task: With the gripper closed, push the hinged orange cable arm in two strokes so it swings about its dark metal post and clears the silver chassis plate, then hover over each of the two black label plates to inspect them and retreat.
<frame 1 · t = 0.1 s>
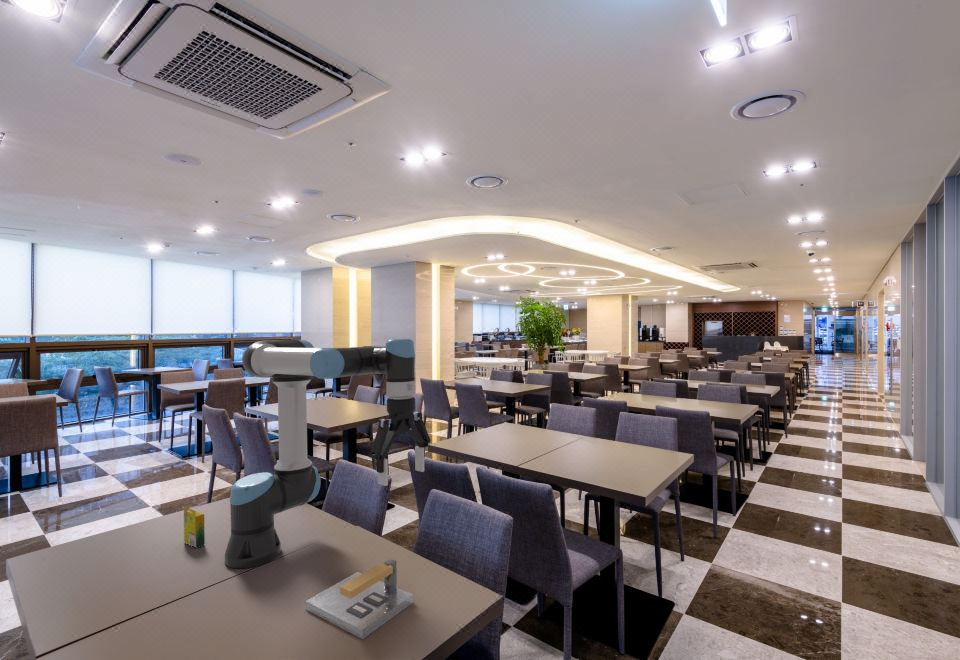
hand: (402, 477, 121), 28 cm above the table, fingers open, 13 cm apart
chassis plate: (359, 605, 111), on the table
crayon box: (194, 544, 146), on the table
label 2: (375, 599, 110), resting on chassis plate
hinge post: (390, 598, 114), resting on chassis plate
cable arm: (371, 577, 109), point 8 cm above the table, hinge at 0.0°
label 1: (359, 610, 106), resting on chassis plate
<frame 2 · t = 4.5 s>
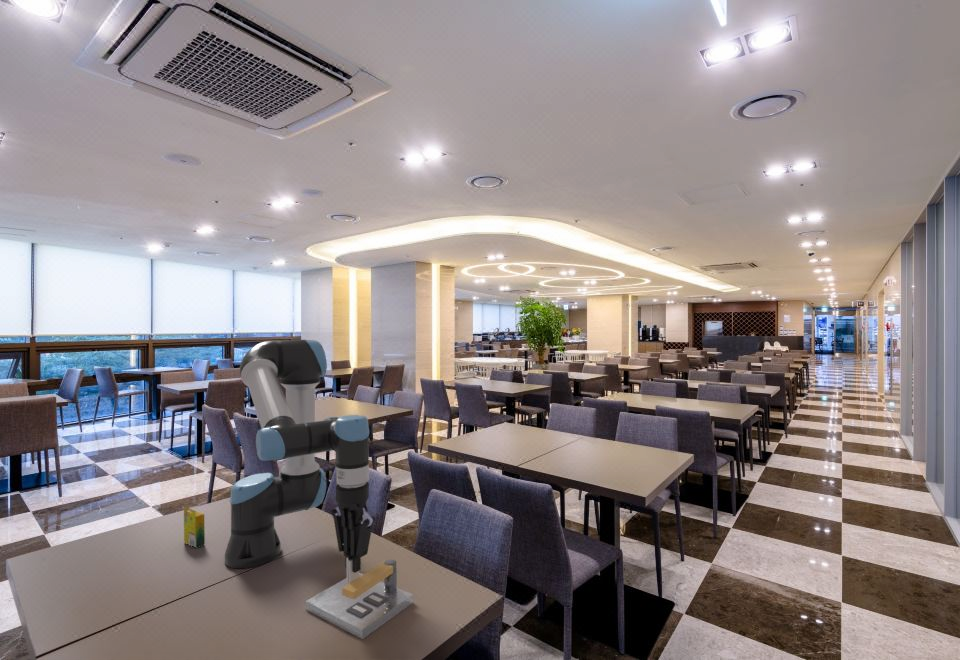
hand: (353, 584, 107), 8 cm above the table, fingers closed
cable arm: (372, 577, 109), point 8 cm above the table, hinge at 3.6°, touching gripper
everything else where it was.
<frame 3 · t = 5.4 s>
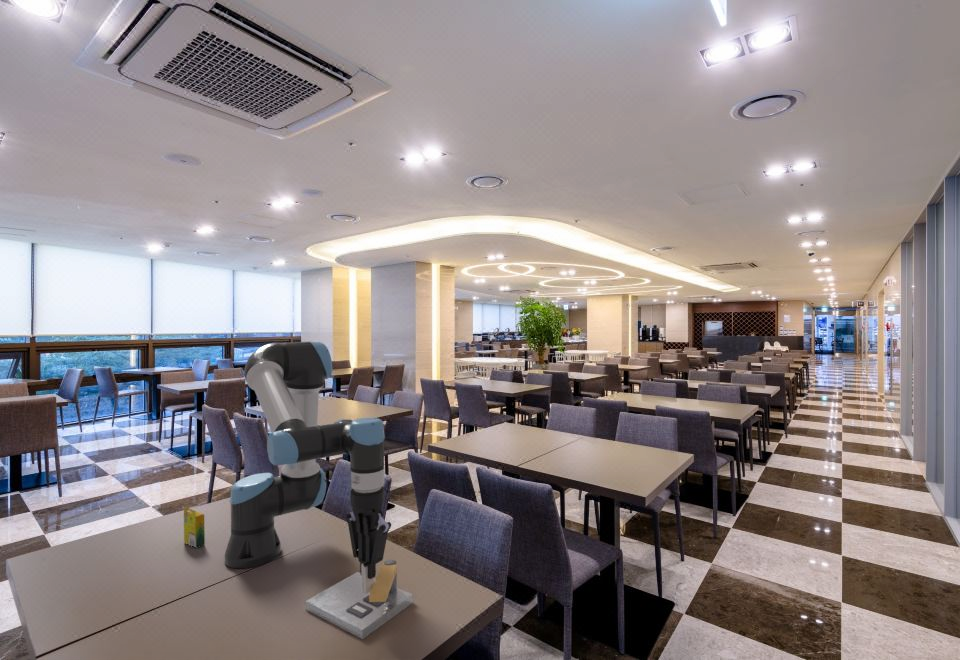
hand: (368, 590, 105), 7 cm above the table, fingers closed
cable arm: (385, 579, 108), point 8 cm above the table, hinge at 33.8°, touching gripper
everything else where it was.
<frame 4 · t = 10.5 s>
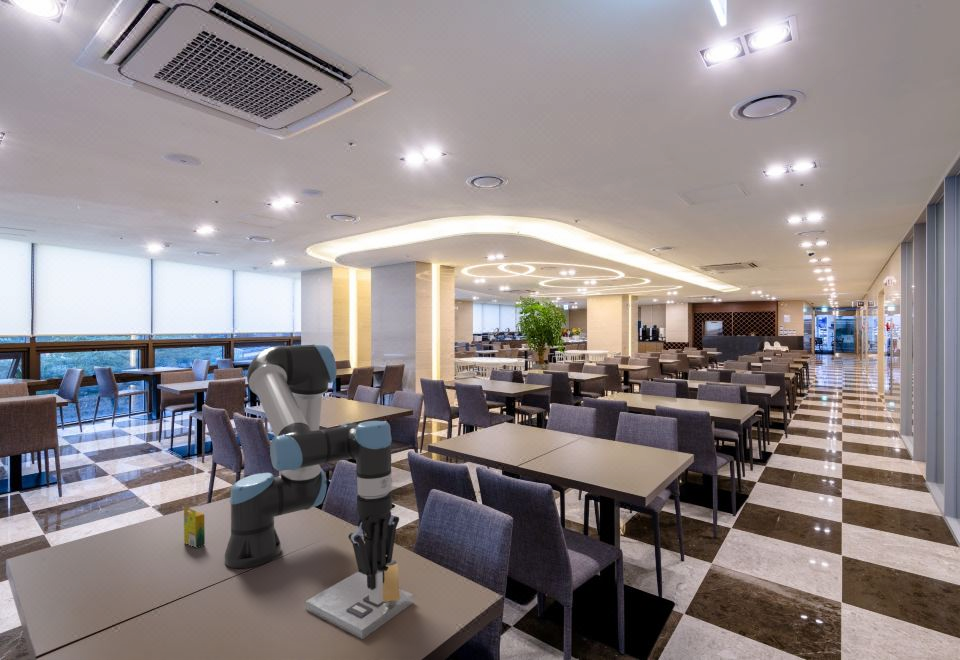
hand: (376, 600, 100), 7 cm above the table, fingers closed
cable arm: (390, 578, 108), point 8 cm above the table, hinge at 45.9°, touching gripper
everything else where it was.
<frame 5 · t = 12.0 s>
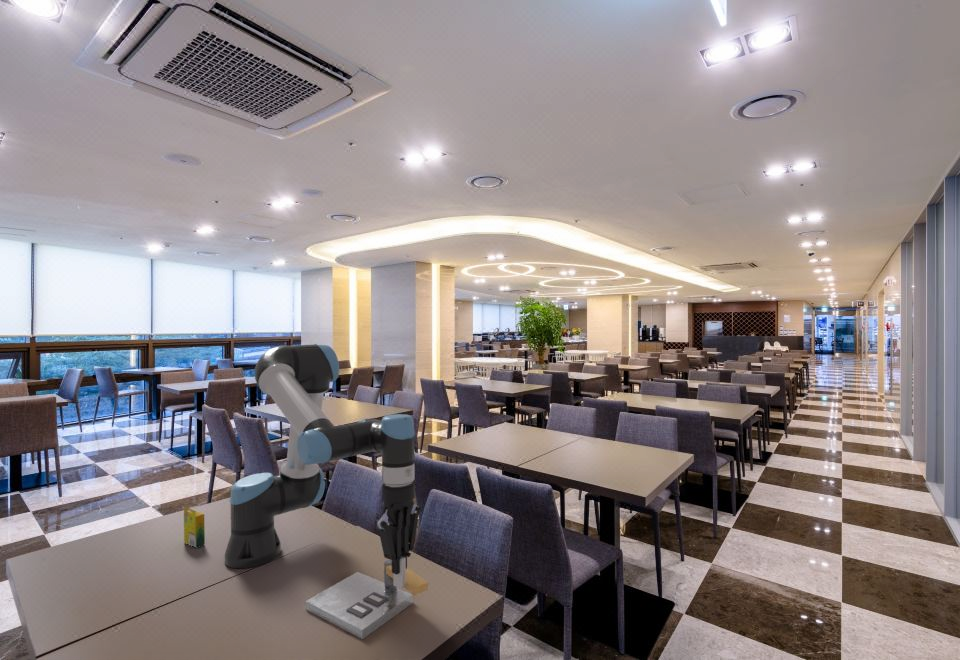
hand: (399, 585, 106), 8 cm above the table, fingers closed
cable arm: (403, 575, 110), point 8 cm above the table, hinge at 74.7°, touching gripper
everything else where it was.
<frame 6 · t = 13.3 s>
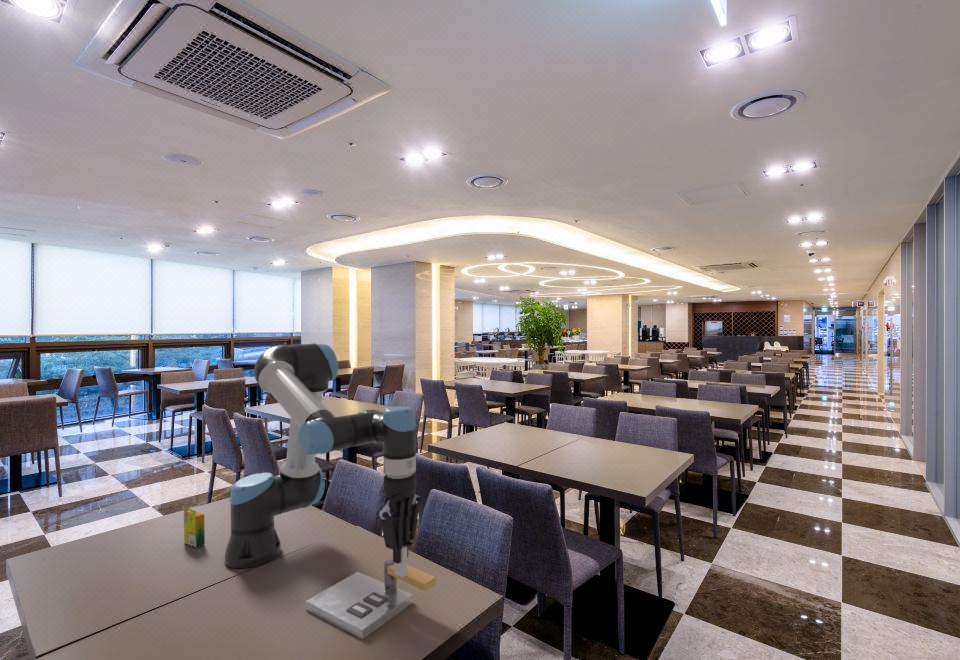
hand: (400, 574, 107), 10 cm above the table, fingers closed
cable arm: (407, 573, 110), point 8 cm above the table, hinge at 85.4°
everything else where it was.
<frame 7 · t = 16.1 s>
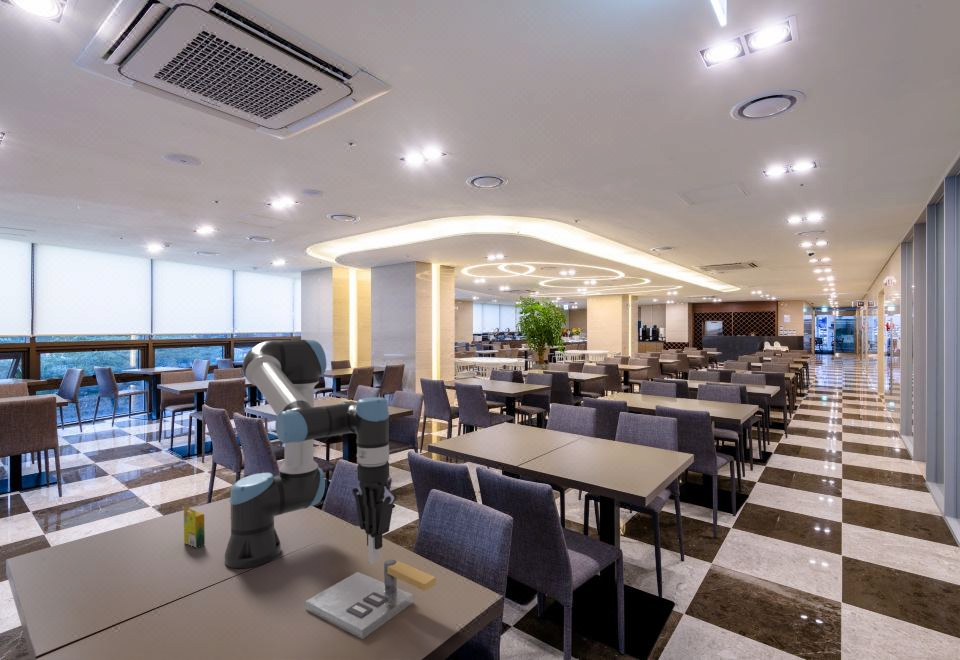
hand: (374, 560, 110), 11 cm above the table, fingers closed
nothing on the table moved.
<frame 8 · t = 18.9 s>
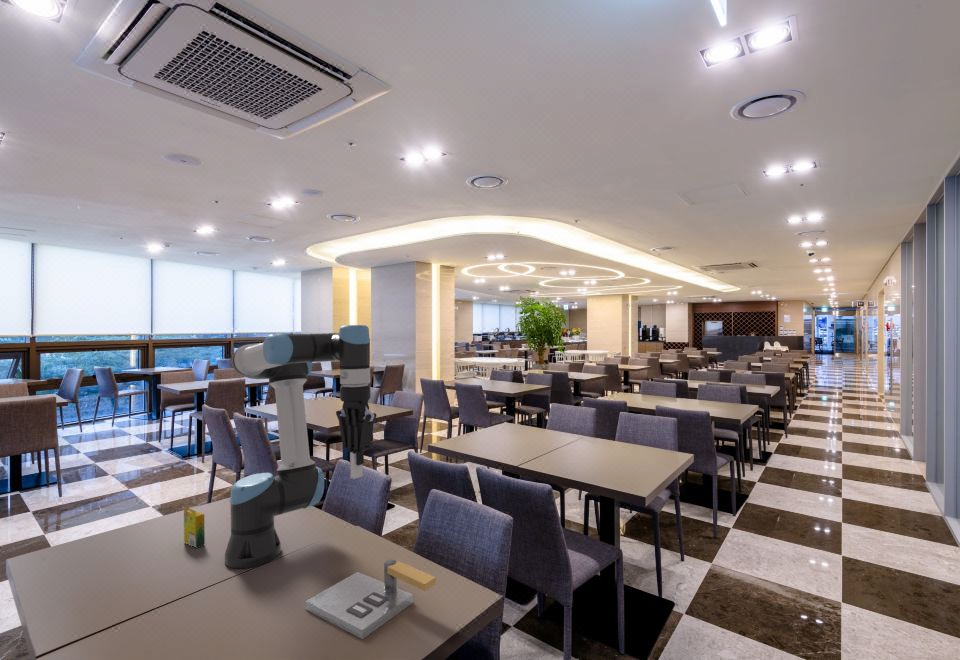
hand: (356, 476, 117), 29 cm above the table, fingers closed
nothing on the table moved.
at the end: cable arm at +85° (first picture: +0°) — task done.
